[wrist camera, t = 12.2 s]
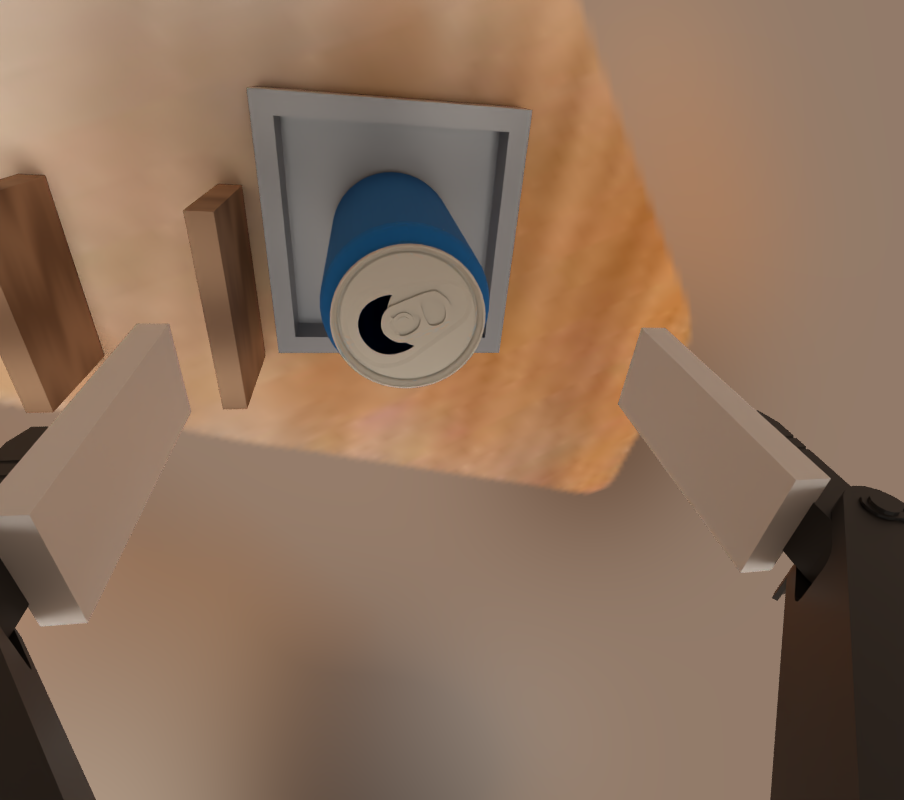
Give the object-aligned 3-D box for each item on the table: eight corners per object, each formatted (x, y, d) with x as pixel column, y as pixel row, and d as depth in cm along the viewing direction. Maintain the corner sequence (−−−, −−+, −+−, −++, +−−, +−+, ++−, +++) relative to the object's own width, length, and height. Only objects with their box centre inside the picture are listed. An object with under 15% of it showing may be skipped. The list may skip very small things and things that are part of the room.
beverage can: (311, 196, 27) (282, 274, 17) (426, 150, 26) (466, 201, 16) (362, 303, 30) (363, 420, 20) (464, 264, 30) (516, 363, 20)
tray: (256, 85, 24) (246, 87, 22) (519, 106, 26) (532, 110, 24) (284, 334, 31) (278, 352, 29) (490, 335, 33) (498, 352, 31)
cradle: (17, 174, 25) (-70, 200, 20) (241, 185, 26) (213, 211, 21) (82, 356, 30) (26, 412, 25) (265, 355, 32) (246, 408, 27)
